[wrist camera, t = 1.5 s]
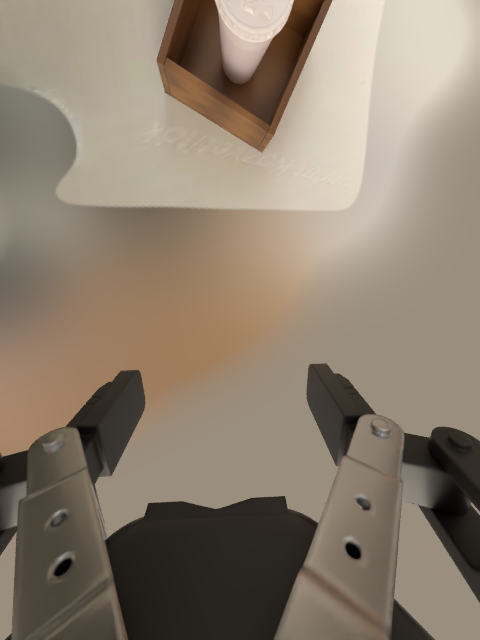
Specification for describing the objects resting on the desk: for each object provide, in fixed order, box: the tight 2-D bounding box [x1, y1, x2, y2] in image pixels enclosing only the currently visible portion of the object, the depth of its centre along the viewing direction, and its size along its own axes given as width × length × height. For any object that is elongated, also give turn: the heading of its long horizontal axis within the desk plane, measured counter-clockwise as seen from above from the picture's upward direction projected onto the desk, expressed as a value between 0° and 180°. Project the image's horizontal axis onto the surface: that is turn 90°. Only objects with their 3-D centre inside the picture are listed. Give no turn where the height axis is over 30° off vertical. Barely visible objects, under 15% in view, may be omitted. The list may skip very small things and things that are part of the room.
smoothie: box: [215, 0, 294, 84], centre depth 20 cm, size 6×6×14 cm
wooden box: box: [157, 0, 332, 152], centre depth 25 cm, size 12×12×5 cm
